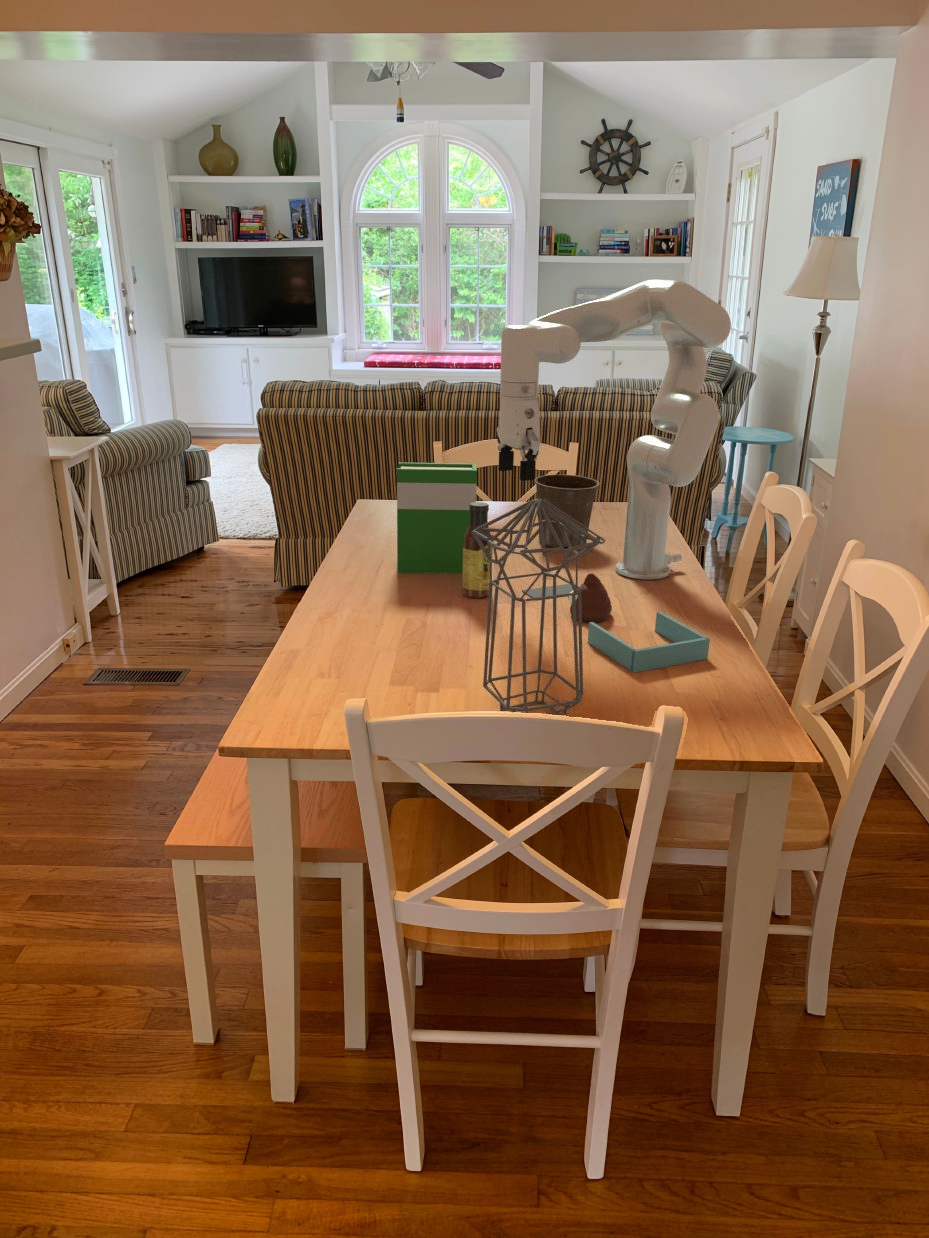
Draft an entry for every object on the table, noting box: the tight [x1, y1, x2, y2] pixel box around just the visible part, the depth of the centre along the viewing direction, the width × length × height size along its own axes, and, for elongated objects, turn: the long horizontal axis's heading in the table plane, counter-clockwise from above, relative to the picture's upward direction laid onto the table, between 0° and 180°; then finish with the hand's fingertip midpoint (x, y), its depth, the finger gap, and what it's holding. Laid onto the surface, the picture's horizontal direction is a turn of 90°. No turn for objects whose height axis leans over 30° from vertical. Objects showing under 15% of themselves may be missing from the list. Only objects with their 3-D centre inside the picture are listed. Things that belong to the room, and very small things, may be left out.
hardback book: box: [396, 461, 478, 575], centre depth 214 cm, size 18×7×24 cm, turn 91°
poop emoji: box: [567, 572, 613, 624], centre depth 189 cm, size 10×8×9 cm
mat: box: [521, 583, 573, 598], centre depth 204 cm, size 12×6×1 cm, turn 115°
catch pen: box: [587, 611, 711, 673], centre depth 173 cm, size 16×15×4 cm
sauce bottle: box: [461, 501, 494, 599], centre depth 198 cm, size 7×6×20 cm
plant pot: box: [534, 474, 600, 548], centre depth 238 cm, size 16×16×16 cm
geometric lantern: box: [471, 497, 607, 716], centre depth 142 cm, size 16×16×35 cm
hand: (516, 475), depth 192 cm, fingers open, 9 cm apart
